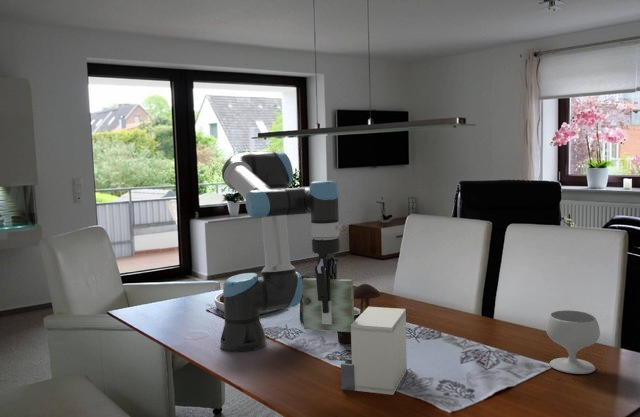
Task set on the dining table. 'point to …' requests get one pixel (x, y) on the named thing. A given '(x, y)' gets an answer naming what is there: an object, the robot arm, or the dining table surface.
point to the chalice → (572, 338)
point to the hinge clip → (347, 375)
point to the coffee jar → (307, 275)
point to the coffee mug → (346, 336)
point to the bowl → (220, 303)
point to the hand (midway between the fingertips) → (328, 322)
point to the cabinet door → (340, 305)
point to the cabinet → (379, 349)
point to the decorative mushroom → (365, 295)
